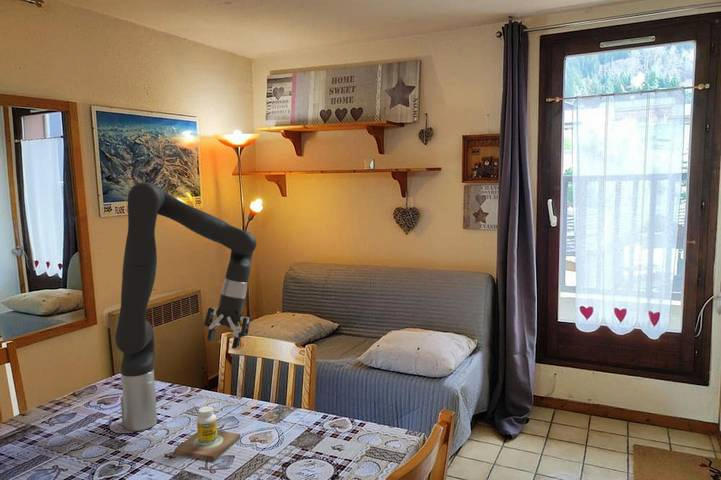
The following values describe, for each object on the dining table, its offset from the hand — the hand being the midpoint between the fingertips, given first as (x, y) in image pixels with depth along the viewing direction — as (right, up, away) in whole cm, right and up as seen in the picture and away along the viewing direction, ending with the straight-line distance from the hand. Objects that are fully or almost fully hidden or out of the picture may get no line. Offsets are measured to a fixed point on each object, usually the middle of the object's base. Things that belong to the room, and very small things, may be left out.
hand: (222, 344), depth 165 cm
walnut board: (0, -26, -14) cm, 30 cm away
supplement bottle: (0, -25, -14) cm, 29 cm away
